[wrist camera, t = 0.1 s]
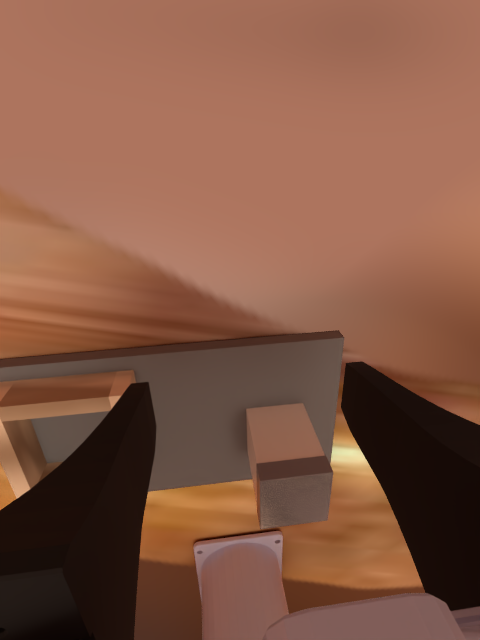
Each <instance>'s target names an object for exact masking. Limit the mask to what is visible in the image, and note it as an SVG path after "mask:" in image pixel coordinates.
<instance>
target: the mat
mask: <svg viewBox="0 0 480 640" xmlns="http://www.w3.org/2000/svg"><path fill="white" fill-rule="evenodd" d="M343 344H344V337H343V335H342V334H341V333H340V332H339V331H328V332H327V331H326V332H314V333H302V334H291V335H279V336H267V337H256V338H244V339H232V340H220V341H209V342H197V343H185V344H174V345H162V346H150V347H138V348H127V349H115V350H103V351H92V352H80V353H68V354H56V355H45V356H33V357H21V358H10V359H0V382H5V381H16V380H27V379H38V378H49V377H61V376H72V375H83V374H94V373H105V372H116V371H127V370H134V375H135V380H136V383H141V382H149V387H150V392H151V398H152V403H153V409H154V415H155V420H156V426H157V428H156V446H155V456H154V461H153V467H152V472H151V478H150V483H149V488H148V492H149V491H157V490H165V489H174V488H182V487H190V486H198V485H207V484H215V483H223V482H232V481H240V480H248V479H252V474H251V468H250V462H249V457H248V450H247V418H246V409H249V408H259V407H268V406H278V405H288V404H297V403H303V405H304V407H305V409H306V412H307V414H308V416H309V419H310V421H311V424H312V426H313V428H314V431H315V433H316V435H317V438H318V440H319V443H320V445H321V447H322V450H323V452H324V455H326V456H327V459H328V461H329V463H330V462H331V453H332V444H333V435H334V426H335V417H336V408H337V398H338V389H339V380H340V371H341V362H342V353H343ZM108 413H109V411H104V412H94V413H84V414H74V415H64V416H54V417H44V418H34V419H30V420H31V422H32V425H33V427H34V430H35V433H36V435H37V438H38V441H39V443H40V446H41V449H42V451H43V454H44V457H45V459H46V462H47V463H55V462H63V461H64V460H66V459H67V458H68V457H69V456H70V455H71V454H72V453H73V452H74V451H75V450H76V449H77V448H78V447H79V446H80V445H81V444H82V443H83V442H84V441H85V439H86V438H87V437H88V436H89V435H90V434H91V433H92V432H93V431H94V429H95V428H96V427H97V426H98V425H99V424H100V423H101V421H102V420H103V419H104V418H105V416H106V415H107V414H108Z"/></svg>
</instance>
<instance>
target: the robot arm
mask: <svg viewBox="0 0 480 640" xmlns="http://www.w3.org/2000/svg"><path fill="white" fill-rule="evenodd" d="M341 408H342V411H343V414H344V416H345V419H346V421H347V424H348V426H349V429H350V431H351V433H352V435H353V437H354V438H355V440H356V442H357V444H358V446H359V447H360V449H361V451H362V453H363V454H364V456H365V458H366V460H367V461H368V463H369V465H370V467H371V469H372V470H373V472H374V474H375V476H376V477H377V479H378V481H379V483H380V485H381V486H382V488H383V490H384V492H385V494H386V496H387V499H388V501H389V503H390V505H391V508H392V510H393V512H394V515H395V517H396V519H397V521H398V524H399V526H400V529H401V531H402V533H403V536H404V538H405V541H406V543H407V546H408V548H409V550H410V553H411V556H412V558H413V561H414V563H415V566H416V569H417V571H418V574H419V577H420V579H421V582H422V584H423V587H424V590H425V593H406V594H399V595H393V596H387V597H380V598H374V599H367V600H362V601H355V602H348V603H342V604H335V605H330V606H323V607H316V608H310V609H305V610H302V611H298V612H295V613H292V614H289V612H288V608H287V603H286V598H285V593H284V588H283V583H282V578H281V576H282V546H283V536H282V532H280V531H273V532H265V533H258V534H250V535H243V536H235V537H228V538H220V539H213V540H206V541H198V542H196V543H195V544H194V555H195V562H196V569H197V575H198V583H199V589H200V596H201V602H202V635H203V636H202V637H203V640H480V425H478V424H476V423H473V422H471V421H468V420H466V419H464V418H462V417H460V416H457V415H455V414H453V413H451V412H449V411H447V410H445V409H443V408H441V407H439V406H437V405H435V404H433V403H431V402H429V401H427V400H426V399H424V398H422V397H420V396H418V395H417V394H415V393H413V392H411V391H410V390H408V389H406V388H405V387H403V386H401V385H400V384H398V383H396V382H395V381H393V380H392V379H390V378H388V377H387V376H385V375H384V374H382V373H380V372H379V371H377V370H376V369H374V368H372V367H371V366H369V365H367V364H366V363H364V362H352V363H346V367H345V376H344V385H343V394H342V402H341ZM156 428H157V426H156V420H155V415H154V409H153V403H152V398H151V392H150V387H149V382H141V383H131V384H130V385H129V386H128V388H127V389H126V390H125V392H124V393H123V394H122V396H121V397H120V398H119V400H118V401H117V402H116V404H115V405H114V406H113V408H112V409H111V410H110V411H109V413H108V414H107V415H106V416H105V418H104V419H103V420H102V421H101V423H100V424H99V425H98V426H97V427H96V428H95V429H94V431H93V432H92V433H91V434H90V435H89V436H88V437H87V438H86V439H85V441H84V442H83V443H82V444H81V445H80V446H79V447H78V448H77V449H76V450H75V451H74V452H73V453H72V454H71V455H70V456H69V457H68V458H67V459H66V460H64V461H63V462H62V463H61V464H60V465H59V466H58V467H57V468H55V469H54V470H53V471H52V472H51V473H49V474H48V475H47V476H46V477H44V478H43V479H42V480H41V481H40V482H38V483H37V484H36V485H35V486H33V487H32V488H31V489H30V490H28V491H27V492H25V493H24V494H23V495H21V496H20V497H19V498H17V499H16V500H15V501H13V502H12V503H10V504H9V505H7V506H6V507H4V508H3V509H2V510H0V640H134V626H135V610H136V594H137V580H138V565H139V554H140V543H141V531H142V523H143V516H144V510H145V504H146V499H147V494H148V488H149V483H150V478H151V472H152V467H153V461H154V456H155V446H156Z"/></svg>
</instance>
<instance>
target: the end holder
mask: <svg viewBox="0 0 480 640" xmlns="http://www.w3.org/2000/svg"><path fill="white" fill-rule="evenodd" d="M131 383H136V380H135V375H134V370H127V371H116V372H105V373H94V374H83V375H72V376H61V377H49V378H38V379H27V380H16V381H5V382H0V463H1V465H2V467H3V469H4V471H5V474H6V476H7V478H8V480H9V482H10V484H11V487H12V489H13V491H14V493H15V495H16V498H19V497H20V496H21V495H23V494H24V493H25V492H27V491H28V490H30V489H31V488H32V487H33V486H35V485H36V484H37V483H38V482H40V481H41V480H42V479H43V478H44V477H46V476H47V475H48V474H49V473H51V472H52V471H53V470H54V469H55V468H57V467H58V466H59V465H60V464H61V463H62V462H55V463H47V462H46V459H45V457H44V454H43V451H42V449H41V446H40V443H39V441H38V438H37V435H36V433H35V430H34V427H33V425H32V422H31V420H30V419H34V418H44V417H54V416H64V415H74V414H84V413H94V412H104V411H110V410H111V409H112V408H113V406H114V405H115V404H116V402H117V401H118V400H119V398H120V397H121V396H122V394H123V393H124V392H125V390H126V389H127V388H128V386H129V385H130V384H131Z"/></svg>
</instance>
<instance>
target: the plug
mask: <svg viewBox="0 0 480 640" xmlns="http://www.w3.org/2000/svg"><path fill="white" fill-rule="evenodd" d="M246 418H247V450H248V457H249V462H250V468H251V474H252V479H253V485H254V491H255V496H256V502H257V513H258V519H259V525H260V529H266V528H274V527H281V526H289V525H296V524H304V523H311V522H319V521H326V520H328V512H329V504H330V495H331V487H332V478H333V471H332V468H331V466H330V463H329V461H328V459H327V456H326V455H324V452H323V450H322V447H321V445H320V443H319V440H318V438H317V435H316V433H315V431H314V428H313V426H312V424H311V421H310V419H309V416H308V414H307V412H306V409H305V407H304V405H303V403H297V404H288V405H278V406H268V407H259V408H249V409H246Z"/></svg>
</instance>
